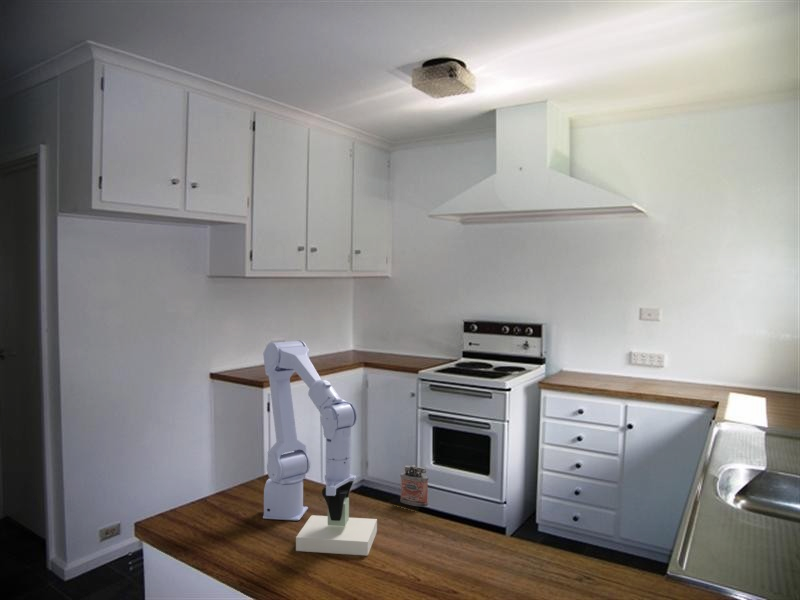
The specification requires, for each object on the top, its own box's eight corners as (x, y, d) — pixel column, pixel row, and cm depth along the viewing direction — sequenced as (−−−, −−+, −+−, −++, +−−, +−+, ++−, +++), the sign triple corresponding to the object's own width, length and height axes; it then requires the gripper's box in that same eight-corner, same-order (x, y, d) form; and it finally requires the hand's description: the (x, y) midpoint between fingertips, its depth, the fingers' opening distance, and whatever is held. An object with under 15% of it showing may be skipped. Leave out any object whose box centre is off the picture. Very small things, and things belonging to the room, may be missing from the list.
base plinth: (295, 550, 121) (296, 537, 121) (311, 527, 133) (311, 515, 133) (367, 555, 119) (367, 541, 119) (376, 531, 131) (377, 519, 131)
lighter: (397, 502, 150) (398, 465, 150) (403, 498, 153) (403, 462, 153) (424, 507, 146) (425, 470, 146) (430, 503, 149) (430, 466, 149)
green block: (327, 525, 125) (327, 503, 124) (332, 518, 129) (332, 496, 128) (345, 526, 124) (345, 504, 124) (348, 519, 128) (348, 497, 128)
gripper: (348, 467, 118) (348, 530, 119) (361, 448, 133) (361, 504, 133) (316, 465, 119) (316, 528, 119) (333, 447, 134) (332, 503, 134)
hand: (338, 515), depth 126 cm, fingers closed on green block, 4 cm apart
